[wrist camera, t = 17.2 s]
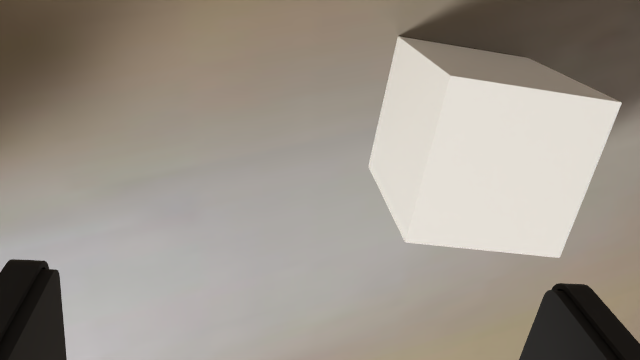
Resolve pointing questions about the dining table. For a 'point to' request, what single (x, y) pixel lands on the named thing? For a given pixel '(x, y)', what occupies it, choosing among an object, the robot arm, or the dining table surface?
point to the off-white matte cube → (486, 148)
